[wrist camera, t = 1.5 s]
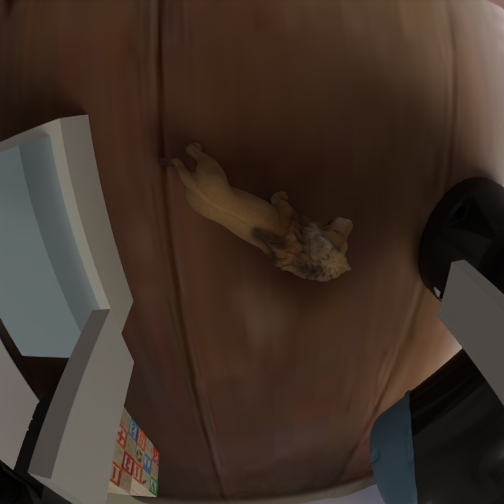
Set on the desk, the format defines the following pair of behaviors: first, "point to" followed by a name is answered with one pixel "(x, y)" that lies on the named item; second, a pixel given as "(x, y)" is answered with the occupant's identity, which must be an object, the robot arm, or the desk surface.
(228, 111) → the desk surface
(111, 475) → the stack of blocks
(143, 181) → the desk surface
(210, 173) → the lion figurine
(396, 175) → the desk surface
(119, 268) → the two-tone layered slab
